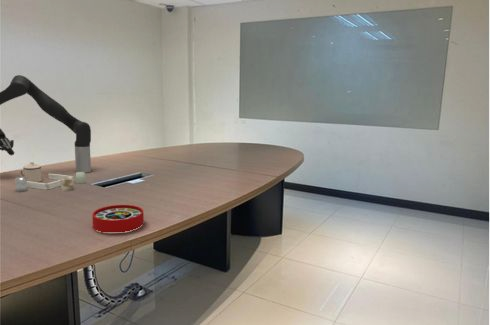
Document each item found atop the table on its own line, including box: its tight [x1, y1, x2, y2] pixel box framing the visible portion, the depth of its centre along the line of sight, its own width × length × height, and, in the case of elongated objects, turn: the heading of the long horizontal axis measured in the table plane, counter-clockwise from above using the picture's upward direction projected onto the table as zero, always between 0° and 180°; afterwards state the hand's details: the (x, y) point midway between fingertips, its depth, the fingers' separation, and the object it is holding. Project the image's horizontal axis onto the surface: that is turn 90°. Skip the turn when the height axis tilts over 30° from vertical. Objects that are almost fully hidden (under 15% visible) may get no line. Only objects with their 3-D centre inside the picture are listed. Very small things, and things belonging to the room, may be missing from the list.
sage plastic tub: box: [75, 171, 86, 185], centre depth 212 cm, size 5×5×6 cm
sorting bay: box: [27, 173, 76, 191], centre depth 207 cm, size 18×21×3 cm
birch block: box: [60, 178, 74, 192], centre depth 197 cm, size 5×5×6 cm
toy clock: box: [91, 204, 145, 232], centre depth 149 cm, size 20×6×20 cm
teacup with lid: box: [19, 161, 43, 183], centre depth 209 cm, size 12×9×12 cm
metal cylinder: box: [14, 176, 28, 193], centre depth 191 cm, size 5×5×7 cm
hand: (12, 154), depth 210 cm, fingers closed
